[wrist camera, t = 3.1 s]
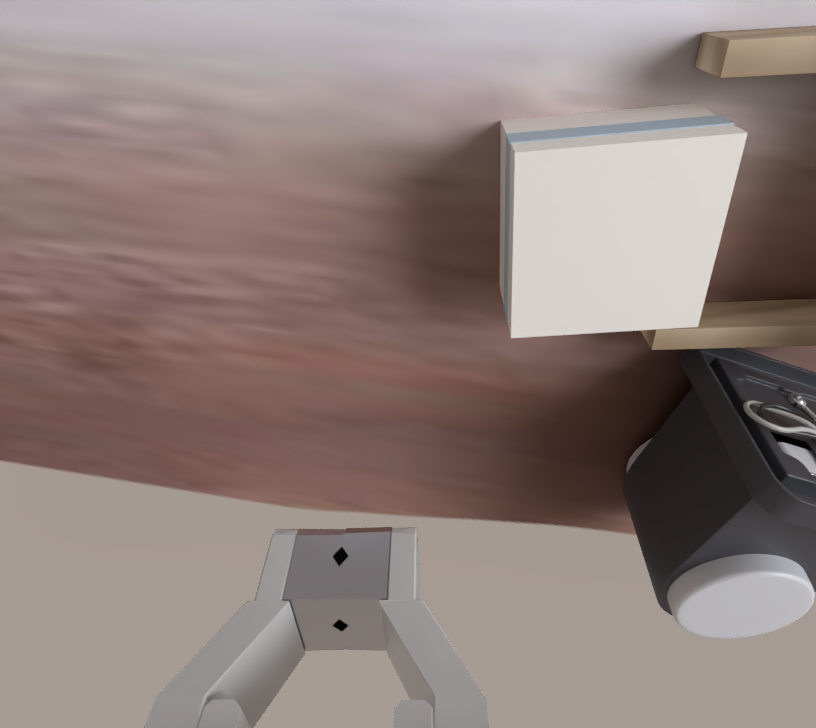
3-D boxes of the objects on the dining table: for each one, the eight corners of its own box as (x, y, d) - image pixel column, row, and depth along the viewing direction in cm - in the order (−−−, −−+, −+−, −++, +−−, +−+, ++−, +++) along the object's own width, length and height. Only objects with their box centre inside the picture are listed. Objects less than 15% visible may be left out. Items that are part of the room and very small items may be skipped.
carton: (498, 117, 24) (513, 151, 20) (693, 100, 23) (749, 131, 19) (498, 285, 29) (509, 339, 25) (659, 274, 28) (698, 327, 24)
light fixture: (571, 470, 37) (609, 634, 29) (696, 318, 29) (799, 484, 21) (710, 507, 39) (783, 671, 31) (863, 374, 31) (1020, 547, 23)
